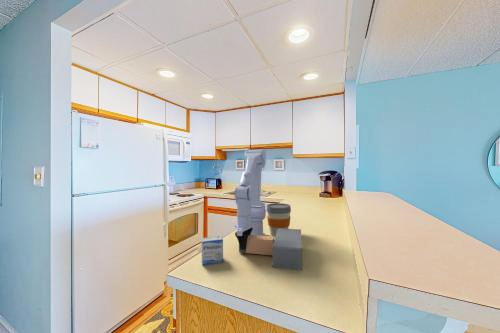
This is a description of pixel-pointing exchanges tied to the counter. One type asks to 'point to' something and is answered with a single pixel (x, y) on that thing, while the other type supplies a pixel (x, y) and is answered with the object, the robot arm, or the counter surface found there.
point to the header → (287, 249)
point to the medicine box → (212, 250)
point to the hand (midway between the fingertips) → (244, 247)
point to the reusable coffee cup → (278, 217)
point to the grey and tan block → (259, 245)
